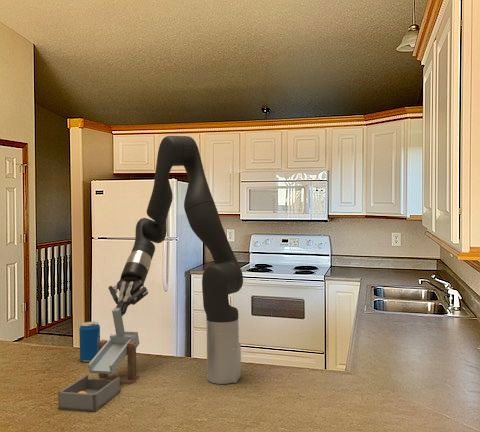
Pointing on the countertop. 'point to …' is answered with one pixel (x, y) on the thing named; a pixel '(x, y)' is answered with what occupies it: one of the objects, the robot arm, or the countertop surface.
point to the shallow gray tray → (88, 394)
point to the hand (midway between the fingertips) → (119, 314)
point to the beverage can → (89, 340)
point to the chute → (113, 348)
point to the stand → (130, 361)
